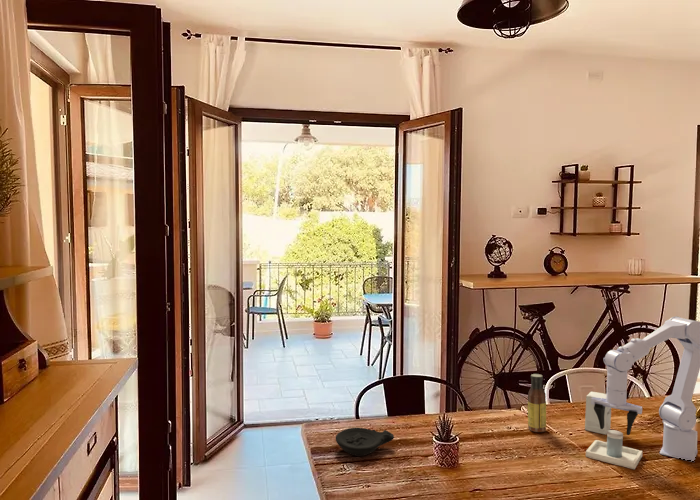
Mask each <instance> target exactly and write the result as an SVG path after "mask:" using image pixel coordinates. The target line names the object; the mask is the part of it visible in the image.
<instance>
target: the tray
mask: <svg viewBox="0 0 700 500" xmlns="http://www.w3.org/2000/svg"><path fill="white" fill-rule="evenodd" d="M585 458H590V459H593V460H596V461H597V460H598V461H601V462H604V463H608V464H612V465H616V466H620V467H623V468H626V469H631V470H636V468H637V466H638V465H639V463H640V461H641V459H642V458H643V450H639V449H635V448H632V447H628V446H624V445H622V457H621V458H614V457H611V456H608V455H607V441H602V440H599V439H595V440H594V441H593V442H592V443H591V445H590V446H589V447H588V448H587V449H586V450H585Z"/></svg>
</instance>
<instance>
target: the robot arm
mask: <svg viewBox="0 0 700 500" xmlns="http://www.w3.org/2000/svg"><path fill="white" fill-rule="evenodd" d="M669 339H677V340H678V341H679V342H680V344H681V345H682V347H683V351H682V352H683V353H682V355H681V359H680V363H679V367H678V370H677V373H676V378H675V382H674V386H673V389H672V392H671V394H669V395H667V396H666V397H665V398H664V400H663V402H662V404H660V406H659V409H658V414H659V417H660V419H662V423H663V432H662V433H663V435H662V436H663V437H662V447H661V448H660V451H659V455H663V456H667V457H672V458H676V459H679V458H681V460H683V459H685V460H684V461H687V460H691V461H690V462H692V461H694V460H696V458H695V457H697V455H698V431H697V430H695V429H693V428H694V427H695V425H696V424H697V415H696V414H697V407H696V406H695V404H694V403H693V400H692V399H693V396H694V392H695V388H696V383H697V381H698V378H699V373H700V321H698V320H693V319H688V318H685V317H684V318H683V317H681V316H677V315H676V316H671V317H670V318H669V319H666V320H665V321H664V323H663V325H661V326H659V327H658V328H657V329H655V330H654V331H653V332H651V333H649V334H648V335H647V336H645V337H643V338H638V337H636V338H634V337H632V338H631V339H630V341H629V342H628V343H626V344H624V345H621V346H619V347H618V348H617V349H616V350H615V349H610V350H609V351H607V352H606V354H605V356H604V357H603V363H604V365H605V366H606V374H607V375H606V393H605V394H606V399H604V398H595V397H592V398H591V404H592V405H595V406H594V410H595V412H596V414H597V417H598V420H599V423H600V429H603V428H604V414H605V407H610V408H611V409H616V410H622V411H625V412H627V413H626V423H627V424H626V435H627V436H630V434H631V431H632V427H633V424H634V422H635V421H636V419H637V416H638V415H642V414H643V406H640V405H637V404H632V403H629V402H627V393H628V391H627V390H628V389H627V388H628V371H630V370H631V368H632V367H633V364H635V362H637V361H639V360H641V359H642V358H644V357H645V356H647V355H649V354H650V349H651V348H654V347H655V346H657V345H659V344H662V343H664V342H666V341H668V340H669ZM694 462H695V461H694Z"/></svg>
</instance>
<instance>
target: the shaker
mask: <svg viewBox="0 0 700 500" xmlns="http://www.w3.org/2000/svg"><path fill="white" fill-rule="evenodd" d="M606 436H607V437H606V442H607V455H608V456H611V457H614V458H621V457H622V446H623V440H624V439H623V438H624V433H623V432H621V430H616V429H609V430H608V431H607V434H606Z"/></svg>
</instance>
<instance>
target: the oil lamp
mask: <svg viewBox="0 0 700 500" xmlns="http://www.w3.org/2000/svg"><path fill="white" fill-rule="evenodd" d="M394 438H395V436H394V434H393V433H392V432H390V431H388V430H386V429H385V430H383V431H376V430H375V429H368V428H365V427H364V428H363V427H350V428H346V429H343V430H341V431H340V432H338V433H337V434H336V436H335V441H336V444H337V445H338V446H339V447H340V448H341V449H342V450H343V451H344V452H345V453H347V454H350V455H353V456H357V457H362V456H367V455H369V454H372V453H374V451H376V450H377V449H378V448H379V447H380V446H383V445H385V444H388V443H389V442H392V441H393V440H394Z"/></svg>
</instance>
